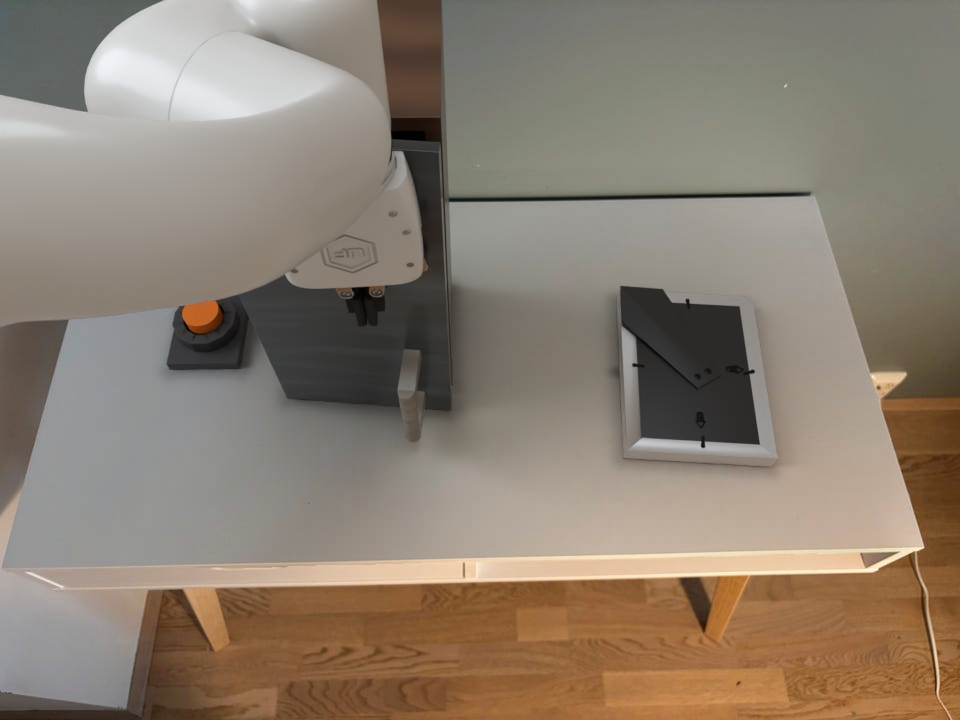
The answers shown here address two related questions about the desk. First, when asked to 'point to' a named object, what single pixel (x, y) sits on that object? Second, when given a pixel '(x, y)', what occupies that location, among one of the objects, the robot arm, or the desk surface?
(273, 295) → the cupboard door
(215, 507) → the desk surface
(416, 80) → the cupboard
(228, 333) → the control block
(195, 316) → the button
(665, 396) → the picture frame
